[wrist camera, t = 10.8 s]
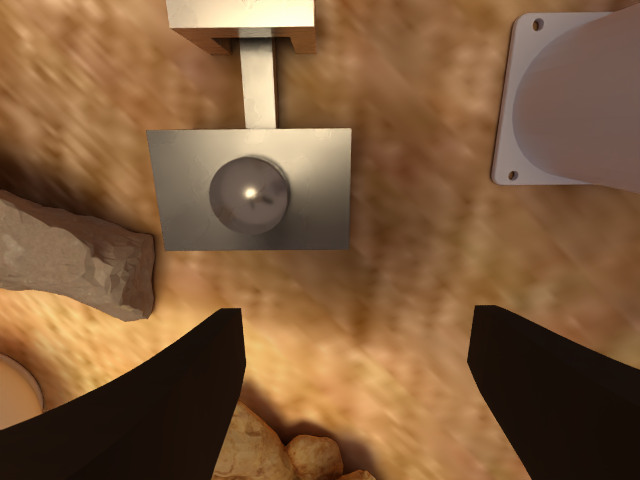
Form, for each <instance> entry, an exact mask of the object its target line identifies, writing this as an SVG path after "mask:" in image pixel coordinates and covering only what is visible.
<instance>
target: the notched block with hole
mask: <svg viewBox="0 0 640 480" xmlns="http://www.w3.org/2000/svg"><path fill="white" fill-rule="evenodd" d="M166 4H167V11H168V19H169V27H170V29H172V30H174V31H175V32H177V33H178V34H180V35H181V36H183V37H184V38H186V39H187V40H189V41H191V42H192V43H194V44H195V45H197V46H198V47H200V48H201V49H203V50H204V51H206V52H208V53H209V54H211V55H232V54H231V42H230V38H232V37H290V39H291V42H292V44H293V47H294V50H295V53H296V54H316V5H315V0H166Z"/></svg>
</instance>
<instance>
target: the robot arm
mask: <svg viewBox="0 0 640 480" xmlns="http://www.w3.org/2000/svg"><path fill="white" fill-rule="evenodd" d="M534 21H537V22H538V23H539V28H538V30H537V31H535V30H534V29H533V26H532V25H533V22H534ZM511 171H514V177H513V178H512V179H509V178H508V175H509V173H510V172H511ZM491 177H492V180H493V182H494V183H496V184H499V185H573V184H597V185H602V186H607V187H611V188H616V189H621V190H626V191H630V192H635V193H640V2H639V3H637V4H634V5H632V6H629V7H627V8H624V9H621V10H619V11H616V12H553V13H526V14H523V15H521V16H520V17H518V18H517V19H516V21H515V22H514V25H513V29H512V36H511V43H510V50H509V57H508V64H507V71H506V77H505V84H504V91H503V98H502V105H501V112H500V119H499V126H498V133H497V140H496V147H495V154H494V161H493V167H492V174H491ZM467 363H468V365H469V368H470V370H471V373H472V375H473V378H474V380H475V382H476V384H477V387H478V389H479V391H480V393H481V395H482V396H483V398H484V400H485V402H486V403H487V405H488V407H489V408H490V410H491V412H492V413H493V415H494V417H495V418H496V420H497V422H498V423H499V425H500V427H501V428H502V430H503V432H504V433H505V435H506V437H507V438H508V440H509V442H510V443H511V445H512V447H513V448H514V450H515V451H516V453H517V455H518V456H519V458H520V460H521V461H522V463H523V465H524V467H525V468H526V470H527V472H528V474H529V476H530V477H531V479H532V480H640V370H639V369H636V368H634V367H631V366H629V365H626V364H624V363H621V362H619V361H616V360H614V359H611V358H609V357H607V356H604V355H602V354H600V353H598V352H595V351H593V350H591V349H589V348H586V347H584V346H582V345H580V344H577V343H575V342H573V341H571V340H569V339H567V338H565V337H563V336H560V335H558V334H556V333H554V332H552V331H550V330H548V329H546V328H544V327H542V326H540V325H538V324H536V323H534V322H532V321H530V320H528V319H526V318H524V317H522V316H519V315H517V314H515V313H513V312H511V311H509V310H506V309H504V308H501V307H499V306H496V305H475V309H474V316H473V323H472V330H471V337H470V344H469V351H468V359H467ZM245 368H246V357H245V346H244V335H243V325H242V314H241V308H221V309H220V310H218V311H216V312H215V313H214V314H212V315H211V316H209V317H208V318H207V319H205V320H204V321H203V322H201V323H200V324H199V325H197V326H196V327H195V328H193V329H192V330H191V331H189V332H188V333H187V334H185V335H184V336H183V337H181V338H180V339H179V340H177V341H176V342H174V343H173V344H171V345H170V346H168V347H167V348H165V349H164V350H162V351H161V352H159V353H158V354H156V355H155V356H153V357H152V358H150V359H149V360H147V361H146V362H144V363H142V364H141V365H139V366H137V367H136V368H134V369H132V370H131V371H129V372H127V373H125V374H124V375H122V376H120V377H118V378H116V379H115V380H113V381H111V382H109V383H107V384H105V385H103V386H101V387H99V388H97V389H95V390H93V391H91V392H89V393H87V394H84V395H82V396H80V397H78V398H76V399H74V400H72V401H70V402H68V403H66V404H64V405H61V406H59V407H57V408H54V409H52V410H50V411H47V412H45V413H43V414H40V415H38V416H35V417H33V418H30V419H28V420H25V421H23V422H20V423H18V424H15V425H13V426H10V427H7V428H5V429H2V430H0V480H211V479H212V475H213V472H214V469H215V466H216V463H217V460H218V457H219V454H220V451H221V448H222V446H223V443H224V440H225V437H226V434H227V431H228V428H229V425H230V423H231V420H232V417H233V414H234V411H235V408H236V405H237V402H238V399H239V396H240V392H241V388H242V383H243V378H244V373H245Z"/></svg>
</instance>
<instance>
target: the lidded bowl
mask: <svg viewBox="0 0 640 480" xmlns="http://www.w3.org/2000/svg"><path fill="white" fill-rule="evenodd" d="M43 405H44V402H43V395H42V391H41V389H40V387H39V384H38V383H37V381H36V380H35V378H34V377H33V376H32V375H31V373H30V372H29V371H28V370H27V369H26V368H24V367H23V366H22V365H21V364H19V363H18V362H17V361H15V360H14V359H12V358H10V357H8V356H6V355H4V354H1V353H0V430H2V429H5V428H7V427H10V426H13V425H15V424H18V423H20V422H23V421H25V420H28V419H30V418H33V417H35V416H38V415H40V414H42V411H43Z"/></svg>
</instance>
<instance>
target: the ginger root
mask: <svg viewBox="0 0 640 480" xmlns="http://www.w3.org/2000/svg"><path fill="white" fill-rule="evenodd" d="M343 467H344V466H343V463H342V459H341V454H340V450H339V447H338V444H337V443H336V442H335V441H333V440H332V439H330V438H328V437H322V438H321V437H316V436H311V435H298V436H296V437H295V438H294V439H292V440H291V441H290V442H289V443H288V445H287V446H284V445H283V443H282V442H281V440H280V438H279V437H278V435H277V433H276V432H275V431H273V430H272V429H271V428H270V427H269V426H268V425H267V424H266V423H265V422H264V421H263V420H262V419H261V418H260V417H259V416H258V415H256V414H255V413H253V412H252V411H251V410H250V409H249V408H248V407H247V406H246V405H245V404H244V403H242V402H241V401H239V400H238V402H237V405H236V408H235V411H234V414H233V417H232V420H231V423H230V425H229V428H228V431H227V434H226V437H225V440H224V443H223V446H222V448H221V451H220V454H219V457H218V460H217V463H216V466H215V469H214V472H213V475H212V479H211V480H376V478H375V477H373V476H372V475H371V474H370V473H369V472H368V471H367V470H365V471H362V470H357V471H354V472H352V473H350V474H347V475H344V476H342V473H343Z"/></svg>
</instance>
